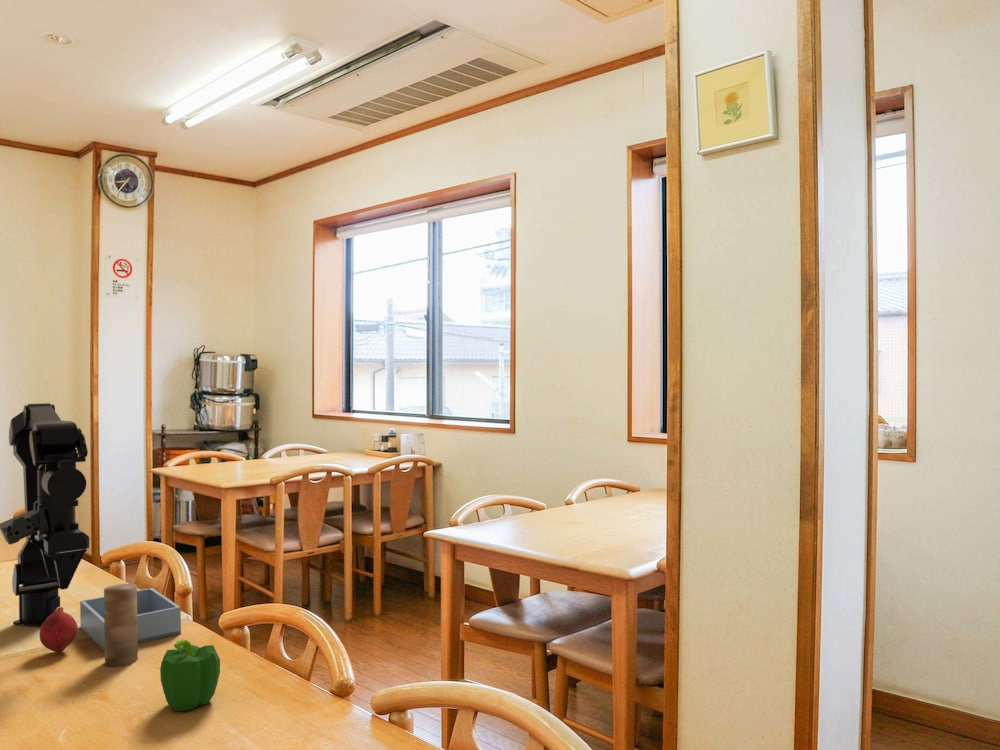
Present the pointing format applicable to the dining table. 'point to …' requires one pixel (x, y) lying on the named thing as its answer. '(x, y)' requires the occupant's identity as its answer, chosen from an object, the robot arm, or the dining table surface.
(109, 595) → the canister
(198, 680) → the bell pepper
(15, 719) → the dining table surface
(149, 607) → the tote
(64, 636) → the onion
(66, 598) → the dining table surface
